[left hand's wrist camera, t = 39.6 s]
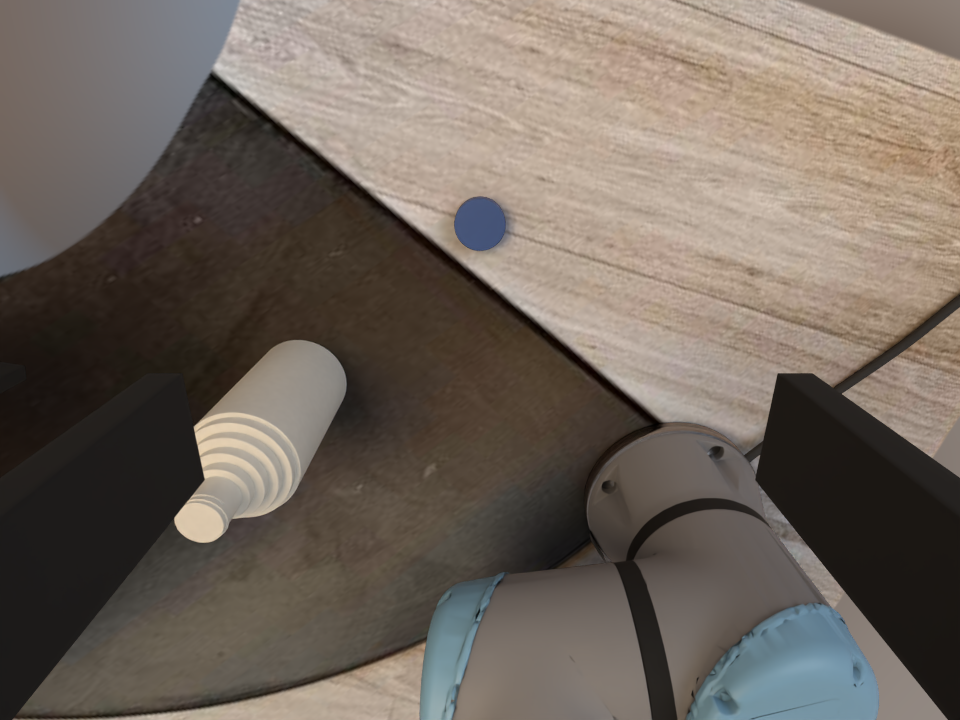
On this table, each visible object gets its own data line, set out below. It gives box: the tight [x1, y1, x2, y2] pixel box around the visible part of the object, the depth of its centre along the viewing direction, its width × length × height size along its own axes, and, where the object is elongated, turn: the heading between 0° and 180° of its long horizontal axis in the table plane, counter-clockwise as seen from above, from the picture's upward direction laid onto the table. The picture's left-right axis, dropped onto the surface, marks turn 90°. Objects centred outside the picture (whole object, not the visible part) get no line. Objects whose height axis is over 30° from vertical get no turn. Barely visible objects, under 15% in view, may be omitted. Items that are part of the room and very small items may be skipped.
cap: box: [454, 197, 506, 251], centre depth 42 cm, size 4×4×2 cm
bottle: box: [174, 340, 347, 543], centre depth 39 cm, size 7×7×19 cm
